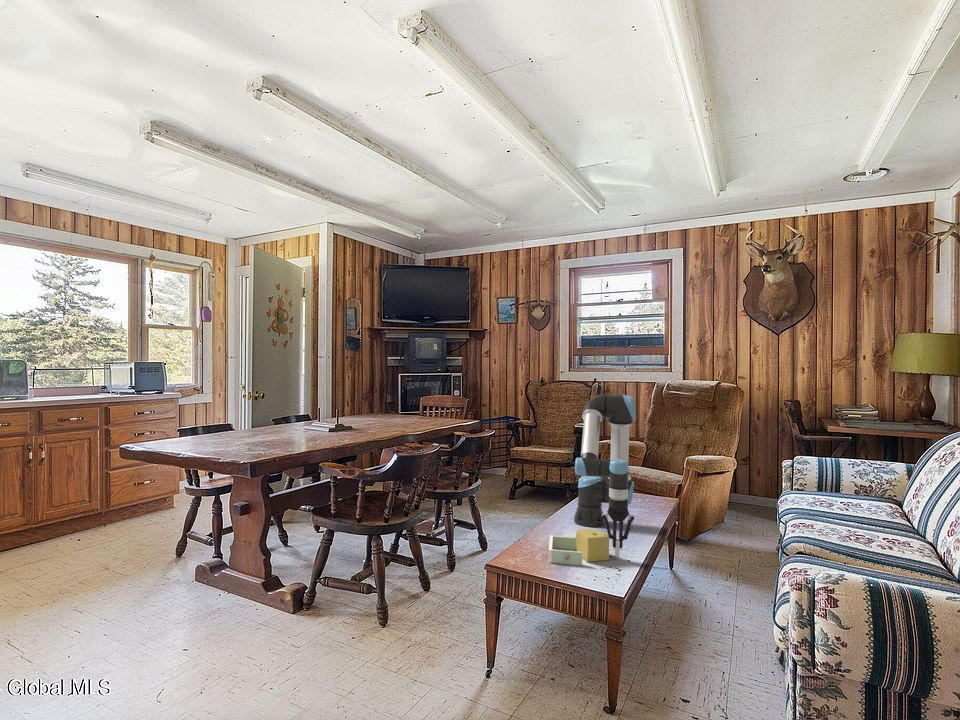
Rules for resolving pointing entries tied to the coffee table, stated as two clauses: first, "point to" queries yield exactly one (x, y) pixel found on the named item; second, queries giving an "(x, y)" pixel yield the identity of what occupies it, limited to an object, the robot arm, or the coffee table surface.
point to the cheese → (592, 545)
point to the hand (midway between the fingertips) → (617, 555)
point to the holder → (564, 551)
